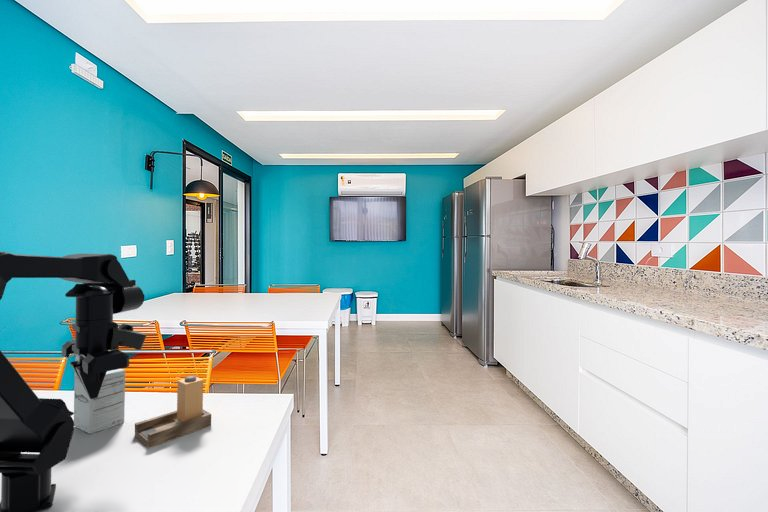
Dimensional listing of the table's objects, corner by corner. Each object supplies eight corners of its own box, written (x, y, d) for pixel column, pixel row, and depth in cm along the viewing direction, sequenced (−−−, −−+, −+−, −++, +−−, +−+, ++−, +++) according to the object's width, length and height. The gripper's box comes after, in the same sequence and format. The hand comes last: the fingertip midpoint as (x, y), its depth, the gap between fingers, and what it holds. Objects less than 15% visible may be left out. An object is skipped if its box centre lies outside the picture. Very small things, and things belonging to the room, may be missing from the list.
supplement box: (72, 427, 84) (73, 372, 83) (109, 414, 90) (109, 363, 90) (88, 435, 80) (89, 378, 80) (125, 421, 87) (126, 368, 87)
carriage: (184, 423, 83) (185, 381, 83) (176, 418, 85) (177, 377, 85) (202, 417, 86) (203, 377, 86) (194, 412, 89) (195, 373, 89)
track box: (149, 448, 75) (149, 435, 75) (134, 435, 80) (134, 423, 80) (211, 425, 86) (211, 414, 86) (194, 415, 91) (194, 404, 91)
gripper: (160, 318, 72) (159, 397, 72) (125, 308, 83) (124, 376, 83) (89, 327, 63) (88, 417, 63) (61, 314, 74) (60, 390, 74)
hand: (93, 398), depth 71 cm, fingers closed
